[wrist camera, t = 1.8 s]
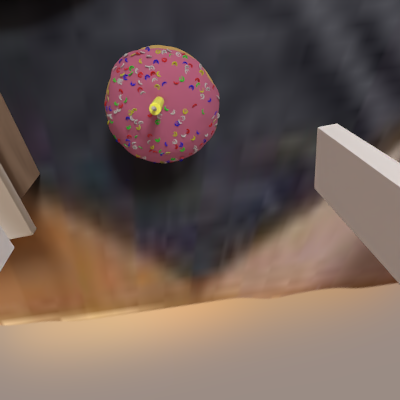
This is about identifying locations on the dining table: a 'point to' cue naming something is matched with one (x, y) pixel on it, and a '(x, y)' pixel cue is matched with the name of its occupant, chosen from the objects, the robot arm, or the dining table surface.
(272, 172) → the dining table surface
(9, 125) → the white box
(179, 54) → the cupcake
